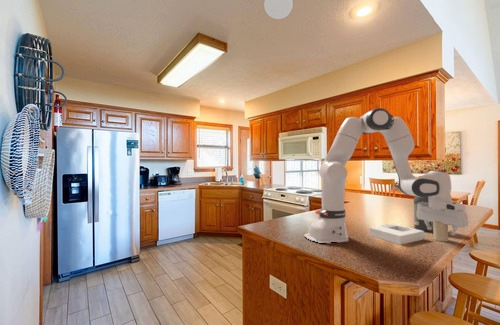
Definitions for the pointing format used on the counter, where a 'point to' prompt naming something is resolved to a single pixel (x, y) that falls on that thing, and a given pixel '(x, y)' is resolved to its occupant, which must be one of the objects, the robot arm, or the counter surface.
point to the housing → (397, 233)
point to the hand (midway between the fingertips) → (440, 232)
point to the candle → (440, 231)
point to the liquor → (420, 223)
